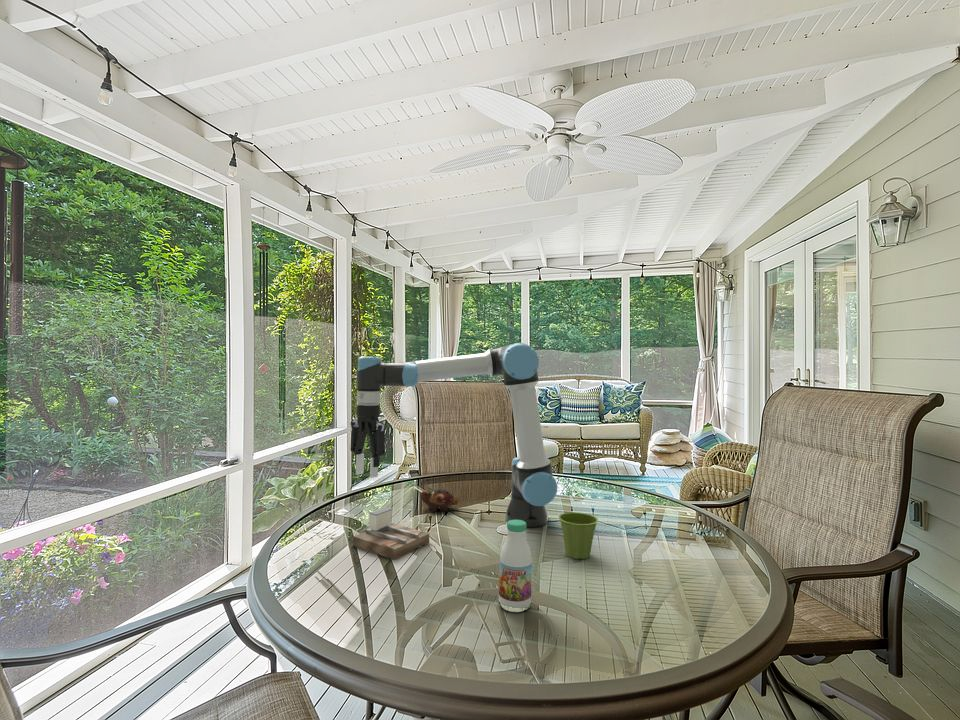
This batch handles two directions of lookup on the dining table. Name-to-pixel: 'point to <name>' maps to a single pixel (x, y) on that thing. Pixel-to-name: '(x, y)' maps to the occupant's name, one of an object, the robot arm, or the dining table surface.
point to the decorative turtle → (438, 499)
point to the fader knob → (380, 519)
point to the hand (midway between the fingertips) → (366, 475)
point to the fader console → (391, 541)
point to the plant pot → (578, 533)
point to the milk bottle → (515, 567)
